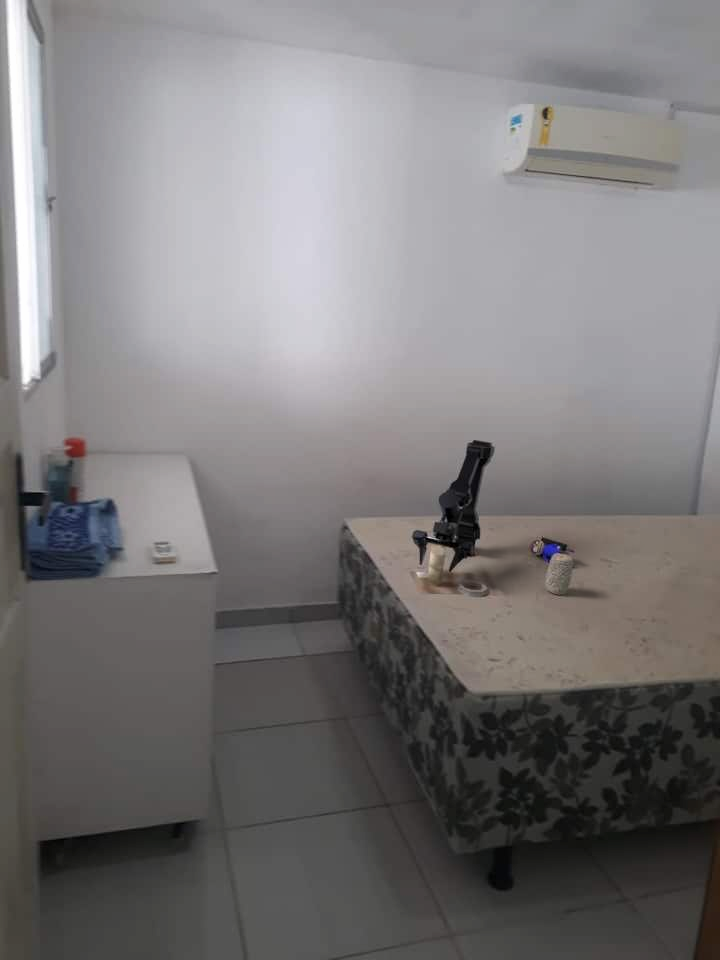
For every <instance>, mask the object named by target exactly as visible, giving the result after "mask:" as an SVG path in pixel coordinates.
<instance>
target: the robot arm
mask: <svg viewBox="0 0 720 960" xmlns="http://www.w3.org/2000/svg"><path fill="white" fill-rule="evenodd" d="M494 453H495V446H493V443H492V442H489V441H484V440H478V439H474V440H473V441H472V442H467V443H466V450H465V458H464V460H463V463H462V465H461V469H460V471H459V473H458V476H457V478H456V479H455V480H453V481H452V482H451V484H450V485H449V488H448V489H446V491H445V492H443V493H441V494H440V495H439V497H438V505H439V508H440V511H441V513H442V516H441V518H440V520H439V521H435V522H434V524H433V528H432V533H433V536H434V537H433V536H429V535H428V531H425V530H424V531H423V530H419V529H416V530H414V531H412V532H413V533H412V535H411V538H412V541H413V544H414V545H416V546H417V548H418V550H419V566H422V565H423V563H424V559H425V556H426V553H427V549H428V547H427V546H428V544H432V545H442V546H444V547H445V548H450V549H452V550H453V551H454V555H453V558H452V559H451V562H450V564H449V567H448V568H449V569H448V572H453V570H454V569H455V568H456V567H457V565H458V564H460V563H461V562H462V560H463V561H464V559H466V560H467V559H468V558H473V557H475V556H476V553H475V549H476V548H475V547H476V541H477V540H480V539H481V526H480V523H479V520H480V518H479V515H478V512H477V507H478V501H479V496H480V493H481V492H480V491H481V487H482V481H483V476H484V471H485V468H486V467H487V466H488V465H489V464H490V463H491V461H492V457H493V456H494Z"/></svg>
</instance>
